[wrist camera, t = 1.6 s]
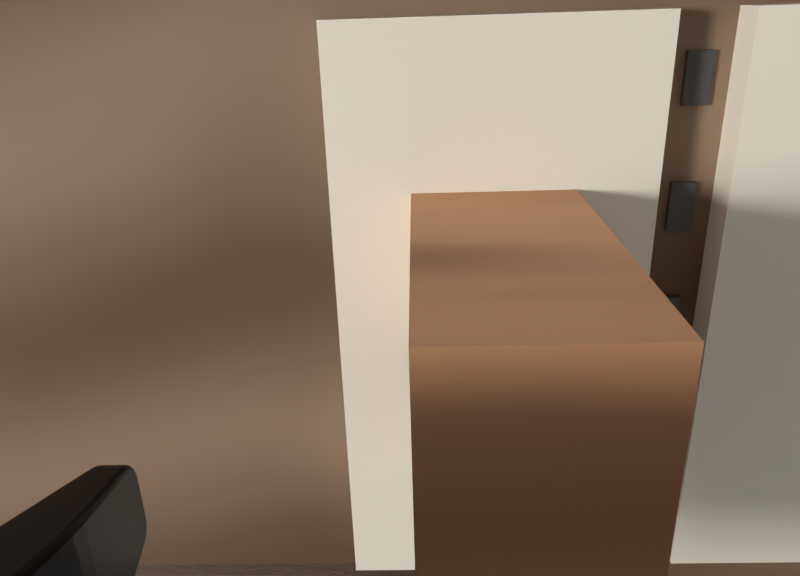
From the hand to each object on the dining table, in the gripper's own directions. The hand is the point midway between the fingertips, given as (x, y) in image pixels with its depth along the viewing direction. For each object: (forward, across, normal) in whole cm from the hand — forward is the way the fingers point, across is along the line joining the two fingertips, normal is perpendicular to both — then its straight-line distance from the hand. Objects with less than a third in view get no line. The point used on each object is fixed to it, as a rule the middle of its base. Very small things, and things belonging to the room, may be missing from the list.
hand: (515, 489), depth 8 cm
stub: (+4, 0, 0) cm, 4 cm away
